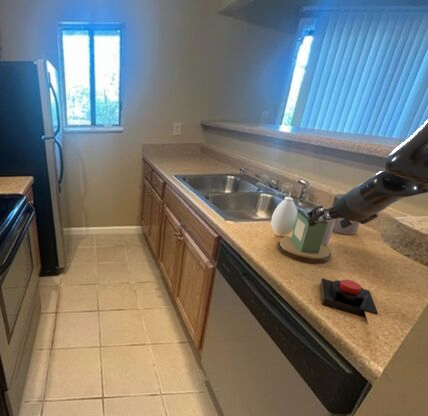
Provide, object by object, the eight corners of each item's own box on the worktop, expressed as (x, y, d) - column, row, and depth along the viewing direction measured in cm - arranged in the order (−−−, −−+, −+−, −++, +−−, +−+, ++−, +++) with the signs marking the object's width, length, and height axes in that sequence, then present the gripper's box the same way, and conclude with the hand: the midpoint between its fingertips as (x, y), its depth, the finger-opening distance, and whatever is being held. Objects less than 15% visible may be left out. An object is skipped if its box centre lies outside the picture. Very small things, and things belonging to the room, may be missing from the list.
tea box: (317, 240, 99) (326, 207, 94) (338, 261, 86) (350, 224, 82) (274, 237, 102) (281, 205, 98) (287, 256, 90) (297, 220, 85)
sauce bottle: (284, 230, 110) (294, 188, 104) (296, 239, 103) (308, 194, 97) (264, 230, 111) (273, 188, 104) (275, 239, 103) (286, 194, 97)
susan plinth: (327, 248, 97) (328, 244, 96) (331, 269, 85) (333, 264, 84) (278, 238, 104) (279, 234, 104) (275, 255, 93) (276, 251, 92)
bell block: (366, 297, 73) (371, 284, 71) (374, 320, 65) (380, 307, 64) (319, 284, 78) (323, 272, 77) (322, 305, 70) (326, 292, 69)
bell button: (357, 288, 71) (360, 282, 70) (360, 296, 68) (362, 291, 67) (338, 283, 73) (340, 277, 72) (339, 291, 70) (341, 285, 69)
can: (313, 236, 105) (321, 207, 101) (333, 245, 99) (343, 214, 94) (297, 239, 104) (305, 209, 99) (317, 248, 97) (326, 217, 93)
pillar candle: (321, 223, 116) (330, 190, 110) (348, 225, 113) (359, 191, 108) (332, 233, 107) (344, 197, 102) (362, 236, 105) (375, 199, 99)
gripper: (392, 189, 69) (349, 214, 83) (328, 187, 71) (297, 211, 86) (402, 216, 66) (355, 237, 80) (334, 213, 68) (301, 234, 83)
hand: (325, 224), depth 83 cm, fingers open, 8 cm apart
